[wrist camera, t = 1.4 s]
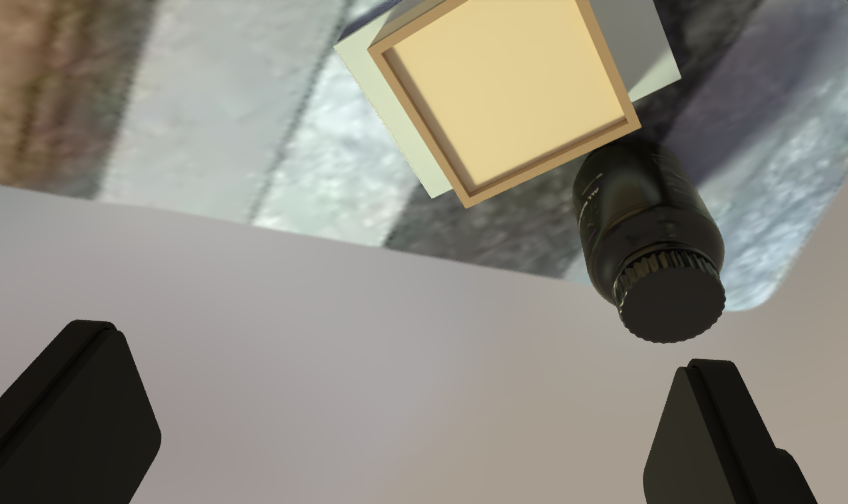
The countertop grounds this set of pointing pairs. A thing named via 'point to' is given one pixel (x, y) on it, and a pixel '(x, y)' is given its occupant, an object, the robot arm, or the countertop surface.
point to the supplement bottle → (649, 241)
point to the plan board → (506, 83)
